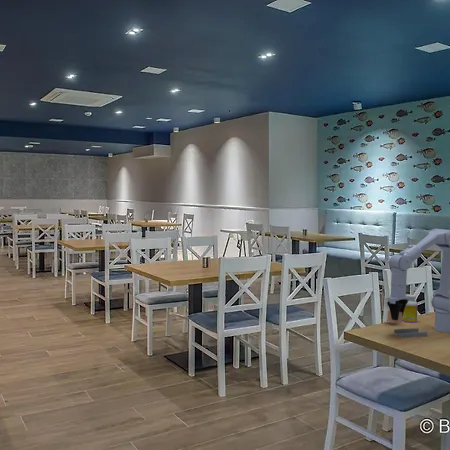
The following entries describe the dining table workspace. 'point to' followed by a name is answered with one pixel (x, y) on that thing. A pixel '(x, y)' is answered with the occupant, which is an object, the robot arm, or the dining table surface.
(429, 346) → the dining table surface
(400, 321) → the block
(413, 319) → the supplement bottle
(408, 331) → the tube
